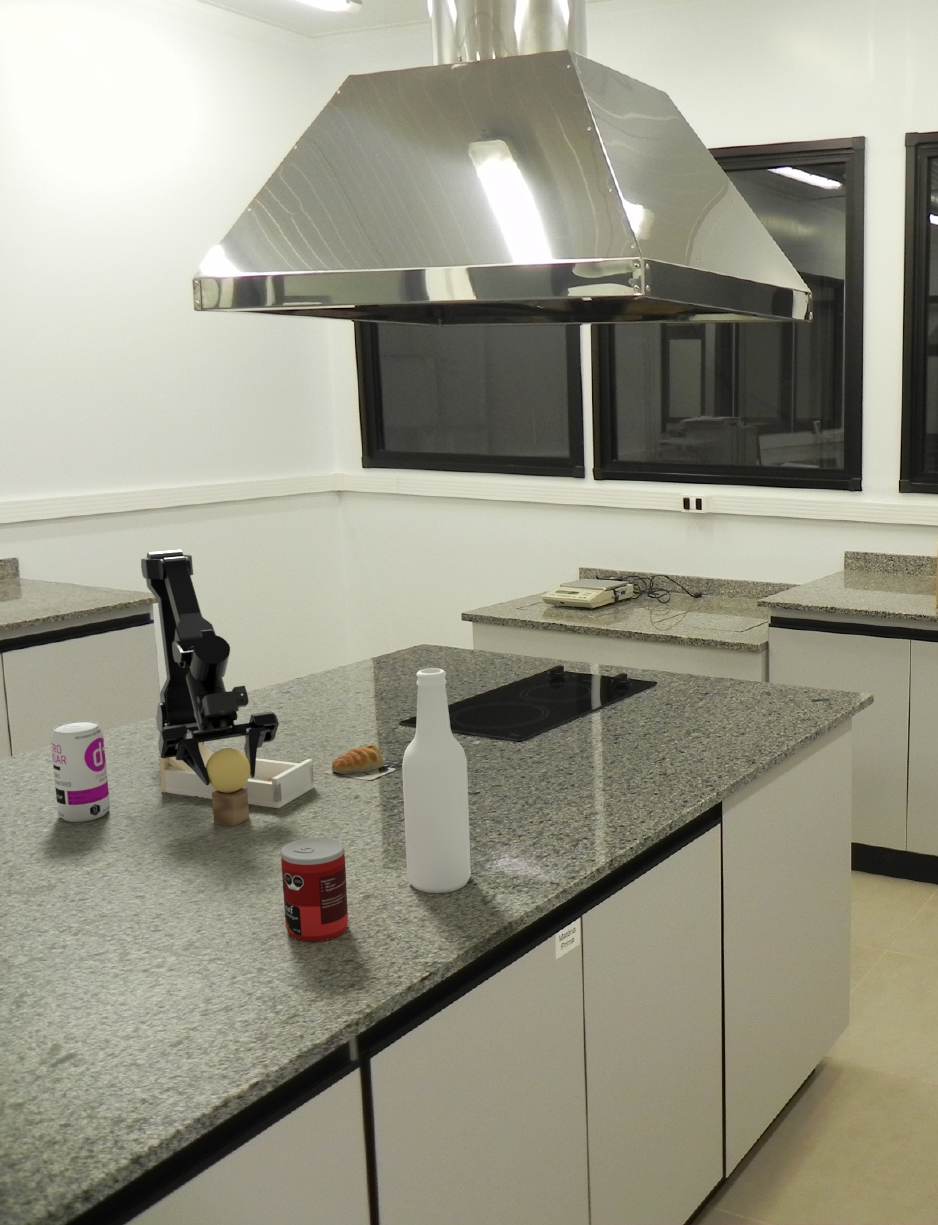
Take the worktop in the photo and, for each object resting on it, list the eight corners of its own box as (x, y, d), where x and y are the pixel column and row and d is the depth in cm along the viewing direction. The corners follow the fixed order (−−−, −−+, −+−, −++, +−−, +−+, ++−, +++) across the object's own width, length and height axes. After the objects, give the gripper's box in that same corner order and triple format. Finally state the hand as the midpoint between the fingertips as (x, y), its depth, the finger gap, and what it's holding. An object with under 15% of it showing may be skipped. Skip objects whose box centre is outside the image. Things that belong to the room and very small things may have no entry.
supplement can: (120, 808, 203) (112, 721, 200) (89, 825, 195) (81, 735, 192) (79, 804, 206) (71, 718, 203) (47, 821, 198) (38, 732, 195)
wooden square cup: (213, 823, 194) (211, 792, 193) (228, 814, 198) (226, 784, 197) (234, 826, 193) (232, 795, 192) (249, 817, 196) (247, 787, 195)
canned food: (287, 918, 159) (282, 838, 157) (349, 914, 159) (344, 835, 157) (283, 945, 151) (278, 861, 149) (348, 941, 152) (343, 857, 150)
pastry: (345, 779, 214) (344, 759, 214) (323, 771, 219) (322, 751, 219) (387, 767, 220) (386, 747, 220) (365, 759, 226) (364, 739, 225)
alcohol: (406, 870, 173) (397, 665, 167) (468, 867, 174) (461, 662, 168) (408, 896, 164) (398, 680, 159) (473, 892, 165) (466, 677, 159)
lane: (161, 791, 210) (158, 755, 209) (200, 772, 220) (198, 738, 219) (278, 808, 200) (276, 770, 199) (314, 787, 210) (312, 751, 209)
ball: (198, 795, 193) (194, 753, 191) (224, 781, 199) (221, 740, 198) (234, 801, 190) (231, 758, 188) (260, 786, 196) (257, 745, 195)
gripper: (156, 678, 190) (176, 765, 183) (271, 663, 198) (296, 745, 190) (150, 715, 199) (169, 799, 191) (261, 699, 207) (284, 779, 199)
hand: (230, 780), depth 193 cm, fingers closed on ball, 7 cm apart
